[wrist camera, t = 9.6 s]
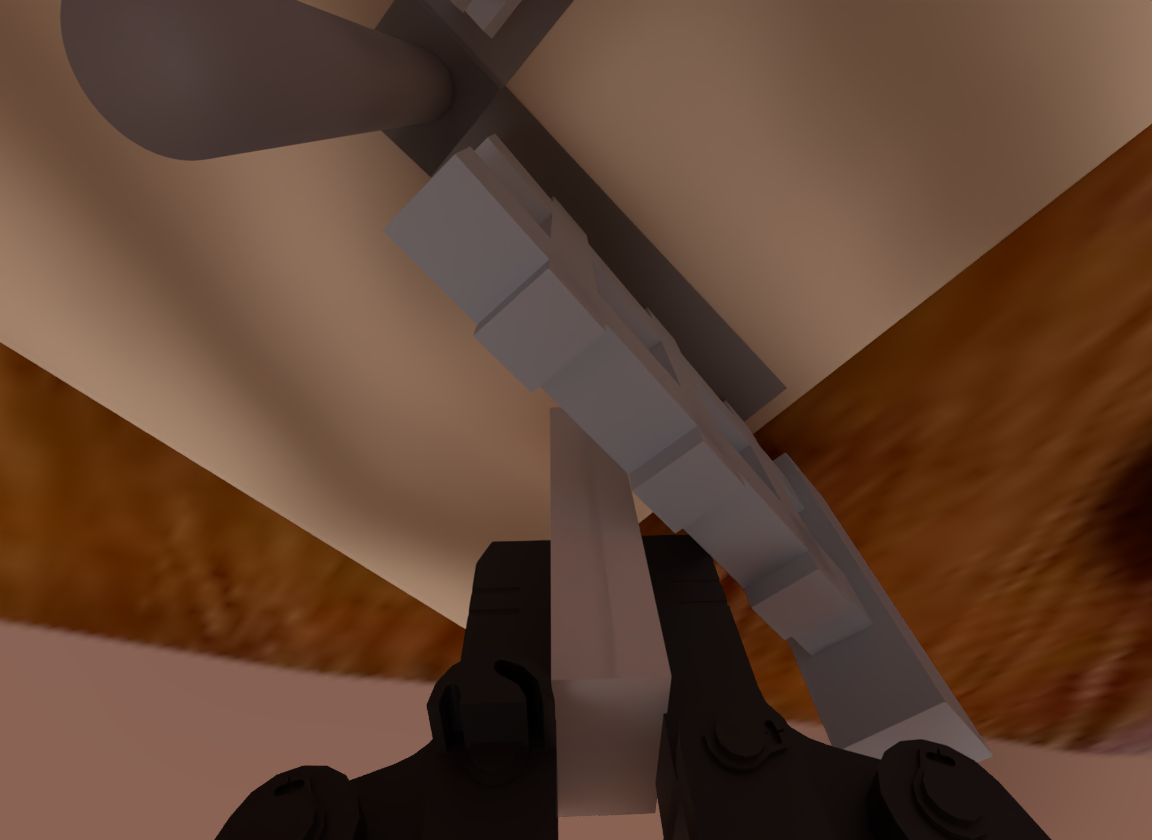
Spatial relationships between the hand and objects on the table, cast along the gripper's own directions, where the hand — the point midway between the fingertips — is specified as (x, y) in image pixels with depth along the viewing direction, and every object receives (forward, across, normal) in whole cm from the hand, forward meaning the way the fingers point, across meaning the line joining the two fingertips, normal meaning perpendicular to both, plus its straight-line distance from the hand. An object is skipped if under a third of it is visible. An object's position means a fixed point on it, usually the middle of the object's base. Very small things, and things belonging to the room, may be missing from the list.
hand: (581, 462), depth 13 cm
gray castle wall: (+1, +2, +2) cm, 3 cm away
